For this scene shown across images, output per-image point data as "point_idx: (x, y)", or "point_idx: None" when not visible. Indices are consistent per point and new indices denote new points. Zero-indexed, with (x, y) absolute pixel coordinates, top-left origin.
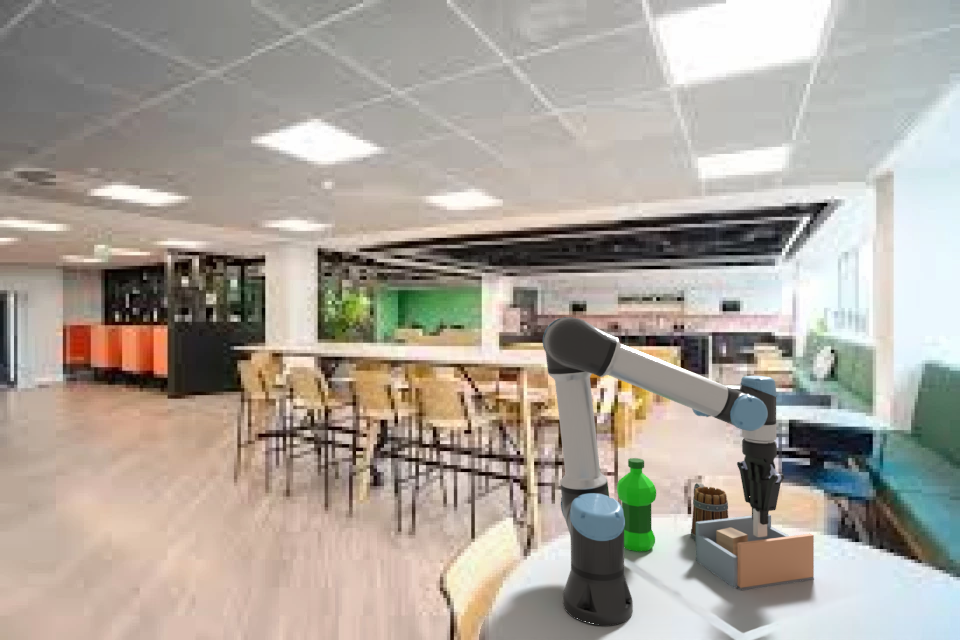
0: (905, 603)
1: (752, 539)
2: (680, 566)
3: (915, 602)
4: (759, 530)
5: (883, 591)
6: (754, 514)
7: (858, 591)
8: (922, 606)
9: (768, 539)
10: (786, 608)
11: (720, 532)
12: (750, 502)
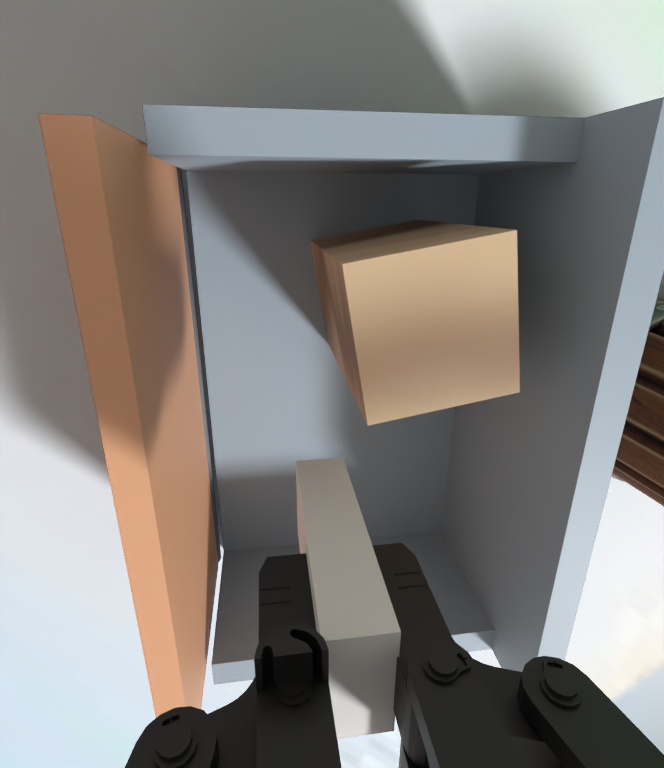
0: (43, 717)
1: (480, 509)
2: (523, 54)
3: (47, 742)
4: (299, 504)
5: (126, 708)
6: (363, 582)
7: (136, 645)
8: (21, 744)
9: (138, 471)
10: (28, 308)
11: (473, 237)
12: (479, 689)
